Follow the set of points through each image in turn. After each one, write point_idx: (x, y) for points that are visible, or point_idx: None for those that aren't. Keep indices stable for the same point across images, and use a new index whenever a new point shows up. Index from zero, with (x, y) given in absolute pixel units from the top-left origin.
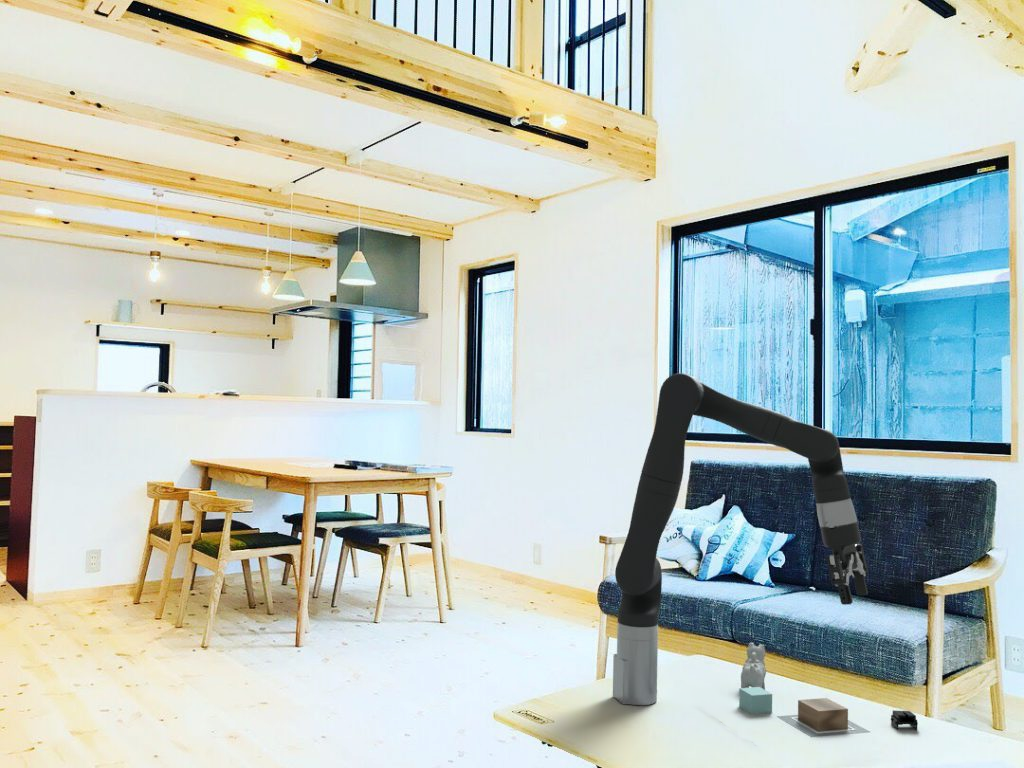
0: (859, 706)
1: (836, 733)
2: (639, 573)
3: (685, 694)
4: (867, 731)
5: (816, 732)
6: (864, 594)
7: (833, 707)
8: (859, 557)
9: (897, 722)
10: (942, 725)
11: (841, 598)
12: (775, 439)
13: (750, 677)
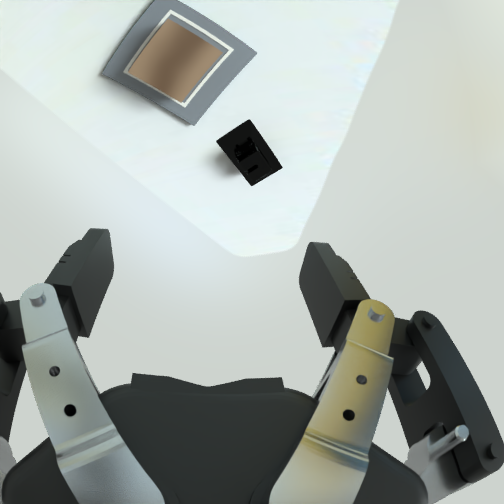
0: (338, 81)
1: (145, 92)
2: None
3: None
4: (192, 122)
5: (124, 70)
6: (301, 273)
7: (170, 81)
8: (418, 425)
9: (236, 156)
10: (313, 186)
11: (67, 255)
12: None
13: None
